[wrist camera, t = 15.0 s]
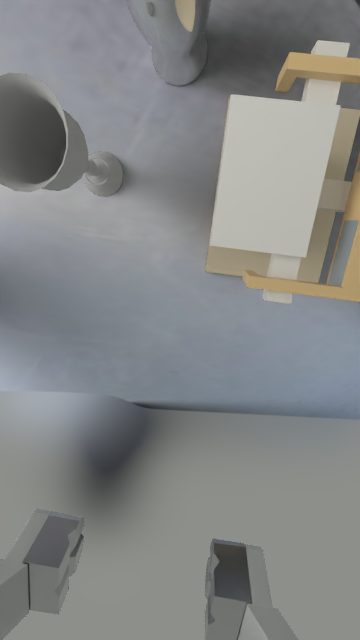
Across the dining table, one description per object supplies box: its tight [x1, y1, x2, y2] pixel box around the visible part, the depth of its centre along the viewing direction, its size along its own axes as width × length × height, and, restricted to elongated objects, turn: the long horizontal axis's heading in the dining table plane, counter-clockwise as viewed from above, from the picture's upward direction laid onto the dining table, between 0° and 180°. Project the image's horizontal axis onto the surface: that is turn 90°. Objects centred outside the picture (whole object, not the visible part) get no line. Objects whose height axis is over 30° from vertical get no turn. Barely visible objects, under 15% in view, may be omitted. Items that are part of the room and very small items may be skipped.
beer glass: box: [125, 0, 211, 86], centre depth 28 cm, size 7×7×15 cm
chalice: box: [0, 73, 123, 197], centre depth 30 cm, size 7×7×18 cm
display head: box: [205, 40, 360, 304], centre depth 31 cm, size 14×20×14 cm
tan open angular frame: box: [242, 52, 360, 302], centre depth 27 cm, size 10×17×4 cm, turn 173°
